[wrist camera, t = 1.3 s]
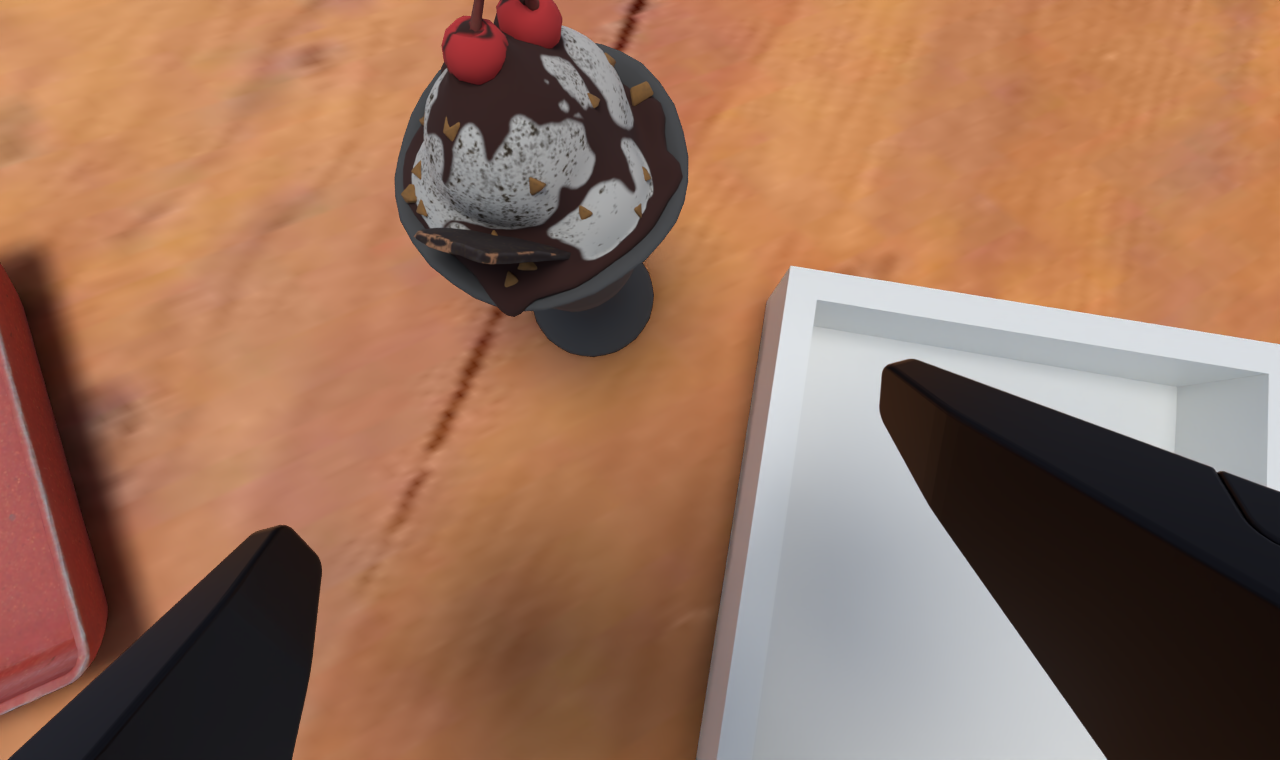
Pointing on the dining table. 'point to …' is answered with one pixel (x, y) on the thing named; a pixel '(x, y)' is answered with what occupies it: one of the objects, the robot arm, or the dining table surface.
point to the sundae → (543, 174)
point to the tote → (926, 518)
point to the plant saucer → (39, 533)
